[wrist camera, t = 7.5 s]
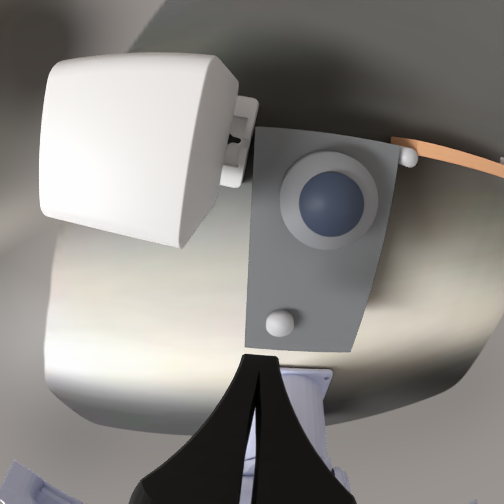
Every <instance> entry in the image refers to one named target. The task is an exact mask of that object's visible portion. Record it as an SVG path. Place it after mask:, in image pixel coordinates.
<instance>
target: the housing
mask: <svg viewBox="0 0 504 504" xmlns="http://www.w3.org/2000/svg"><path fill="white" fill-rule="evenodd" d="M399 150H400V146H399V145H394V144H389V143H385V142H380V141H374V140H369V139H363V138H358V137H352V136H345V135H339V134H332V133H324V132H316V131H307V130H297V129H286V128H273V127H257V126H255V143H254V163H253V183H252V203H251V223H250V243H249V264H248V285H247V306H246V328H245V347H248V348H259V349H272V350H288V351H309V352H351V349H352V346H353V344H354V341H355V338H356V335H357V332H358V329H359V326H360V323H361V320H362V317H363V314H364V311H365V308H366V305H367V302H368V298H369V295H370V292H371V288H372V285H373V281H374V277H375V274H376V270H377V266H378V262H379V258H380V254H381V250H382V246H383V242H384V238H385V233H386V228H387V224H388V219H389V214H390V209H391V203H392V198H393V192H394V186H395V180H396V173H397V166H398V158H399Z"/></svg>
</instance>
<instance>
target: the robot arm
mask: <svg viewBox="0 0 504 504" xmlns="http://www.w3.org/2000/svg"><path fill="white" fill-rule="evenodd" d="M332 376H333V371H332V370H331V369H300V368H280V366H279V359H278V358H277V357H276V356H265V355H253V354H244V355H242V358H241V362H240V364H239V367H238V369H237V372H236V374H235V376H234V378H233V380H232V382H231V383H230V385H229V387H228V389H227V391H226V392H225V394H224V396H223V397H222V399H221V400H220V402H219V403H218V405H217V406H216V408H215V409H214V411H213V412H212V413H211V415H210V416H209V417H208V419H207V420H206V421H205V423H204V424H203V425H202V426H201V427H200V429H199V430H198V431H197V432H196V433H195V434H194V435H193V436H192V437H191V439H190V440H189V441H188V442H187V443H186V444H185V445H184V446H183V447H182V448H181V449H179V450H178V451H177V452H176V453H175V454H174V455H173V456H172V457H170V458H169V459H168V460H167V461H166V462H164V463H163V464H162V465H161V466H159V467H158V468H157V469H155V470H154V471H152V472H151V473H150V474H148V475H147V476H145V477H144V478H142V479H141V481H140V482H139V483H138V485H137V486H136V488H135V489H134V491H133V493H132V495H131V498H130V501H129V504H357V503H356V501H355V498H354V497H353V495H352V494H351V493H350V485H349V480H348V475H347V473H346V472H345V471H343V470H342V469H341V468H340V467H333V468H331V458H328V455H327V442H326V430H325V419H324V409H323V399H324V396H325V394H326V392H327V389H328V386H329V384H330V381H331V379H332ZM0 500H1V502H3V503H4V504H86V503H84V502H81V501H79V500H77V499H76V498H74V497H72V496H70V495H68V494H66V493H64V492H62V491H61V490H59V489H57V488H56V487H54V486H52V485H51V484H49V483H47V482H46V481H44V480H43V479H42V478H41V477H39V476H38V475H36V474H35V473H34V472H32V471H31V470H29V469H28V468H26V467H25V466H23V465H22V464H21V463H19V462H18V461H16V460H14V461H13V462H12V464H11V466H10V468H9V470H8V473H7V475H6V477H5V479H4V481H3V483H2V485H1V487H0ZM467 504H478V503H477V500H476V499H475V500H473V501H471V502H469V503H467Z"/></svg>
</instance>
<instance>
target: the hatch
mask: <svg viewBox="0 0 504 504" xmlns="http://www.w3.org/2000/svg"><path fill="white" fill-rule="evenodd" d="M390 144H394V145H399V146H400V150H399V158H398V164H401V165H404V166H406V167H414V166H415V165H416V164H417V161H418V156H423V157H428V158H433V159H437V160H442V161H446V162H450V163H454V164H458V165H462V166H466V167H469V168H473V169H477V170H480V171H483V172H487V173H490V174H493V175H496V176H500V177H503V178H504V158H503V157H501V158H500V164H499V163H496V162H493V161H491V160H488V159H485V158H482V157H478V156H475V155H472V154H469V153H465V152H462V151H459V150H455V149H451V148H448V147H444V146H440V145H436V144H432V143H428V142H423V141H419V140H413V139H407V138H400V137H393V136H391V142H390Z"/></svg>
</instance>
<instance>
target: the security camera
mask: <svg viewBox="0 0 504 504" xmlns="http://www.w3.org/2000/svg"><path fill="white" fill-rule="evenodd" d="M238 88H239V82H238V80H237V79H236V78H235V77H234V76H233V74H232V73H231V72H230V71H229V70H228V68H227V67H226V66H225V65H224V64H223V63H222V61H221V60H220V59H219V58H218V57H217V56H215V55H205V54H191V53H163V52H151V53H123V54H110V55H99V56H90V57H83V58H76V59H70V60H64V61H60V62H59V63H57V64H56V65H55V66H54V67H53V68H52V70H51V72H50V74H49V77H48V81H47V87H46V93H45V99H44V107H43V115H42V124H41V137H40V156H39V157H40V158H39V191H40V192H39V193H40V206H41V210H42V212H43V214H45V215H46V216H48V217H53V218H56V219H60V220H64V221H68V222H72V223H76V224H80V225H84V226H89V227H93V228H97V229H101V230H105V231H109V232H113V233H117V234H122V235H126V236H130V237H134V238H138V239H142V240H147V241H151V242H155V243H159V244H164V245H168V246H172V247H177V248H183V247H184V246H185V245H186V243H187V242H188V240H189V239H190V238H191V236H192V235H193V233H194V232H195V231H196V229H197V228H198V227H199V225H200V224H201V223H202V221H203V220H204V218H205V217H206V216H207V214H208V213H209V212H210V210H211V209H212V208H213V206H214V204H215V202H216V198H217V195H218V190H219V185H223V186H228V187H233V188H238V187H239V186H240V185H241V183H242V181H243V177H244V173H245V168H246V163H247V158H248V154H249V149H250V144H251V140H252V135H253V131H254V126H255V122H256V117H257V113H258V108H259V103H258V101H257V100H256V99H255V98H250V97H244V96H238ZM229 134H231V135H232V136H233V137H236V138H240V139H241V142H240V143H233V142H232V143H230V144H227V143H228V138H229Z"/></svg>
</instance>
